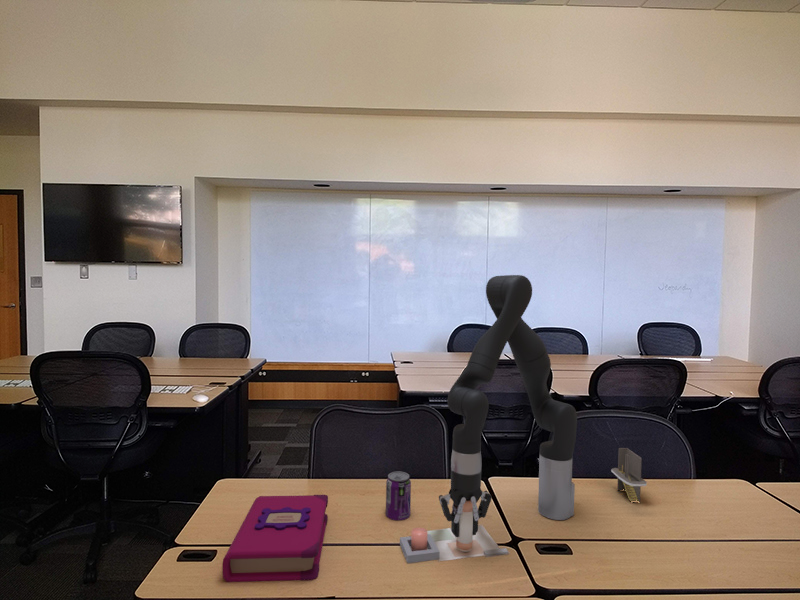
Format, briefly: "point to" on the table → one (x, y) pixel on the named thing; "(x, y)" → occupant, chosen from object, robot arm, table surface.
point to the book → (278, 540)
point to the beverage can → (398, 496)
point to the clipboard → (481, 547)
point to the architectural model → (629, 473)
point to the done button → (419, 539)
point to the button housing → (419, 555)
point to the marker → (465, 528)
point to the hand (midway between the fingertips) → (464, 534)
